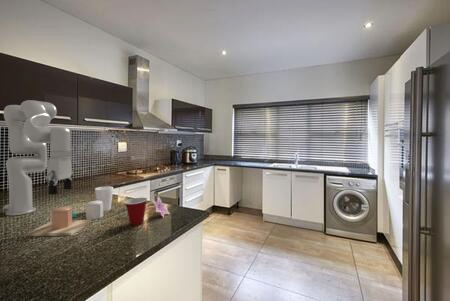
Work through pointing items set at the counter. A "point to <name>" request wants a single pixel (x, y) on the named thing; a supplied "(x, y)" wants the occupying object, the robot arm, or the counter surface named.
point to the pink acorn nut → (61, 217)
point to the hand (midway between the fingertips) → (60, 191)
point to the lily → (160, 207)
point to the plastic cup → (136, 210)
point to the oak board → (70, 230)
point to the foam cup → (104, 196)
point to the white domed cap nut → (94, 210)
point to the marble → (74, 214)
